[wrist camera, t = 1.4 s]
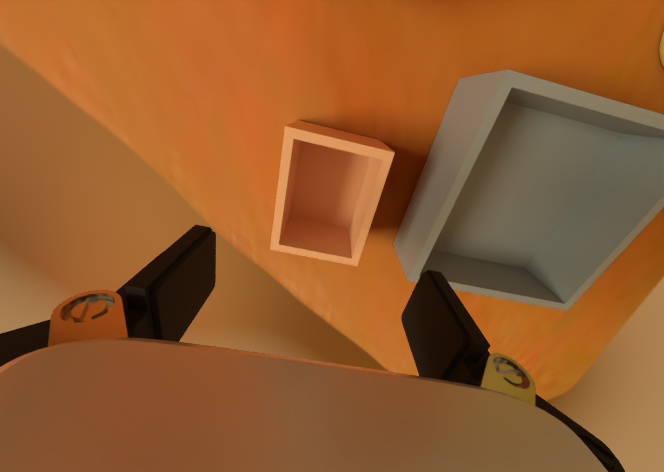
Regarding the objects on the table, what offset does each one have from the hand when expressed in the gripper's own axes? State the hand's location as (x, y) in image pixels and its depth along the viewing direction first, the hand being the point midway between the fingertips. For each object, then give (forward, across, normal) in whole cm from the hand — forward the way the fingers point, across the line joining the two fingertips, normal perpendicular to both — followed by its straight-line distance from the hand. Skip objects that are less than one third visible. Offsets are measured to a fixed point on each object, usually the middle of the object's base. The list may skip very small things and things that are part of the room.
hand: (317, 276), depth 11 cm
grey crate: (+13, -16, -3) cm, 21 cm away
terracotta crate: (+13, 0, -1) cm, 13 cm away
